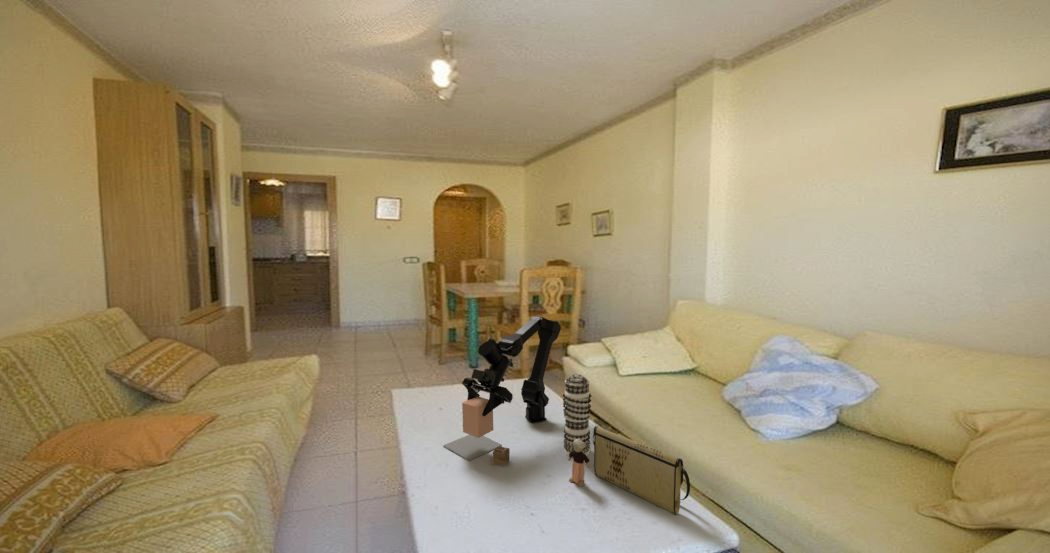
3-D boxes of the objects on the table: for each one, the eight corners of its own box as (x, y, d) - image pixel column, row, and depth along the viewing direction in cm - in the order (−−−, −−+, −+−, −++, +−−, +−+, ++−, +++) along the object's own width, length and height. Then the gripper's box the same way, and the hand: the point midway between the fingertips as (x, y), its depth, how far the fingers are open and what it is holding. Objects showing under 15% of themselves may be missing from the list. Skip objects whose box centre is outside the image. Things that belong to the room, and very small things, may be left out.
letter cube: (498, 458, 140) (497, 446, 140) (509, 460, 139) (509, 448, 139) (492, 464, 137) (492, 451, 136) (504, 466, 135) (504, 453, 135)
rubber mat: (475, 433, 158) (475, 432, 158) (501, 445, 148) (501, 444, 148) (443, 446, 148) (443, 445, 148) (468, 461, 139) (468, 459, 138)
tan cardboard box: (478, 424, 149) (477, 396, 148) (493, 430, 145) (492, 400, 144) (463, 432, 144) (462, 402, 143) (478, 438, 140) (477, 407, 139)
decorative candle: (590, 459, 139) (590, 382, 137) (561, 456, 141) (561, 380, 138) (591, 446, 148) (592, 373, 146) (564, 443, 150) (564, 371, 147)
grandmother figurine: (563, 482, 126) (563, 439, 125) (568, 475, 130) (568, 434, 128) (589, 489, 123) (589, 445, 121) (593, 482, 126) (594, 439, 125)
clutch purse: (694, 509, 113) (696, 453, 112) (681, 521, 109) (682, 463, 107) (602, 465, 135) (602, 418, 134) (587, 474, 131) (587, 425, 129)
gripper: (464, 354, 151) (441, 395, 144) (506, 363, 140) (483, 408, 132) (481, 371, 158) (459, 410, 151) (522, 381, 147) (501, 424, 139)
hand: (474, 413), depth 143 cm, fingers closed on tan cardboard box, 7 cm apart
